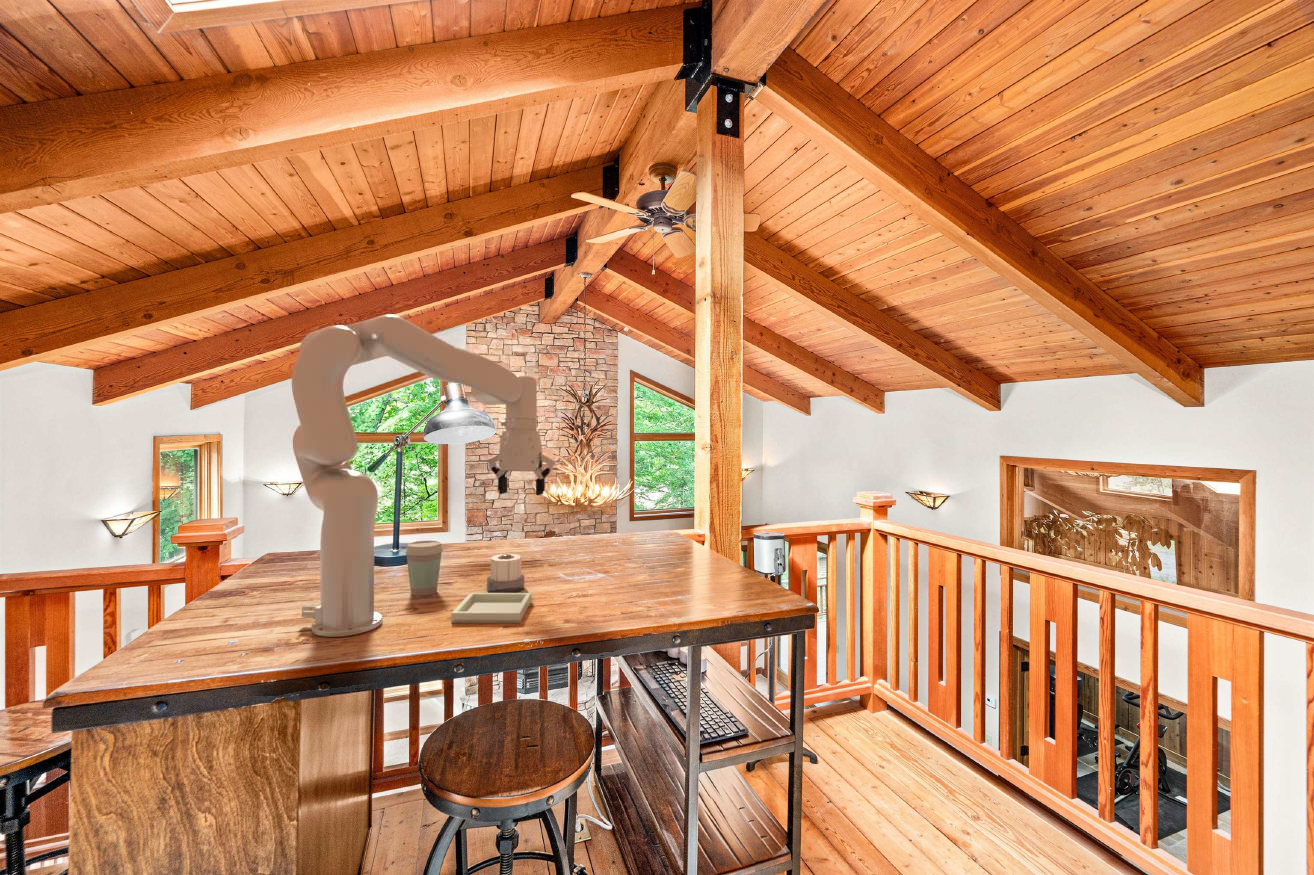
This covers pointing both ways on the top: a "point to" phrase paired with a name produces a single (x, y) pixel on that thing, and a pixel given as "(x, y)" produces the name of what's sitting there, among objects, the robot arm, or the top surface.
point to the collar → (505, 568)
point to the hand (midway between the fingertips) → (521, 493)
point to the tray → (492, 608)
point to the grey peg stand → (505, 583)
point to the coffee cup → (423, 566)
